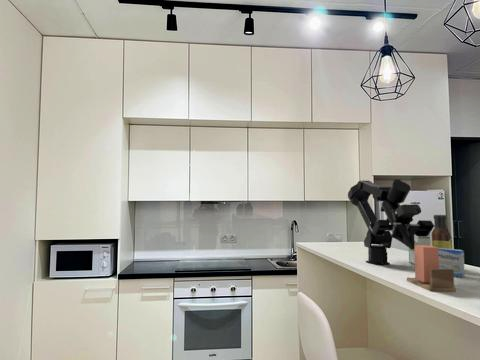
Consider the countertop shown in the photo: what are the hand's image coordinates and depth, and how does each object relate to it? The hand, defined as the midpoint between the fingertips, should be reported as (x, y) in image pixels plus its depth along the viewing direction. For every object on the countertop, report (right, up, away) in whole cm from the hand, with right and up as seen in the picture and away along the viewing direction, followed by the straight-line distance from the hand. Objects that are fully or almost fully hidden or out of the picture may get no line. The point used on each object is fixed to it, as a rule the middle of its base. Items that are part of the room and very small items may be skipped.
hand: (413, 248), depth 98 cm
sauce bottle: (+19, -11, +14) cm, 26 cm away
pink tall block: (0, -8, -7) cm, 11 cm away
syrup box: (+16, -12, +23) cm, 31 cm away
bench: (0, -9, -9) cm, 12 cm away
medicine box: (+16, -10, +6) cm, 20 cm away
